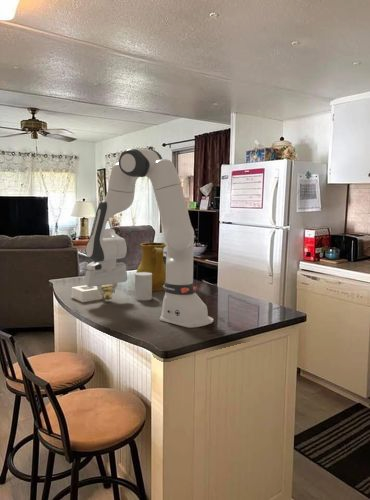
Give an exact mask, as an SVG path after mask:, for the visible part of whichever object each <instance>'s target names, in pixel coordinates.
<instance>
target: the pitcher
mask: <svg viewBox="0 0 370 500" xmlns="http://www.w3.org/2000/svg"><path fill="white" fill-rule="evenodd" d="M140 247H141V250H142V256H141V260H140V263H139V266H137V268H136V272H135V273H139V272H148V273H152V292H160V291H163V290H164V285H165V282H166V262H165V261H164V256H165V255H164V248H166V247H167V243H165V242H156V241H155V242H152V241H150V242H143V243H140Z"/></svg>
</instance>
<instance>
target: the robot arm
mask: <svg viewBox="0 0 370 500" xmlns="http://www.w3.org/2000/svg"><path fill="white" fill-rule="evenodd" d="M144 177H147V178H148V179H149V180H150V182H151V184H152V189H153V193H154V197H155V200H156V203H157V207H158V211H159V216H160V221H161V226H162V229H163V230H162V231H163V234H164V235H163V236H164V239H165V242H166V258H165V265H166V282H165V284H164V285H163V287H164V295H163V299H162V308H161V313H160V314H161V315H160V317H159V321H161V322H165V323H169V324H173V325H177V326H181V327H184V328H189V329H190V328H199V327H204V326H207V325H210V324H212V323H214V322H215V321H214V318H213V317H211V316H209V315H208V306H207V305H206V303H204V301H203V300H202V299H201V298H200V297H199V295H198V294H197V293H196V292H197V289H198V285H197V286H195V282H194V254H195V253H194V249H195V230H194V228H193V226H192V223H191V219H190V215H189V210H188V206H187V202H186V198H185V195H184V190H183V187H182V182H181V180H180V176H179V174H178V171H177V169H176V167H175V165H174V162H173V161H171V160H170V159H168V158H163V157H162V155H161V154H160V153H159V152H158V151H157V150H154V149H151V148H150V149H148V148H143V147H137V148H129V149H126V150H124V151H123V152H122V153H121V154H120V155H119V158H118V162H117V163H115V164H114V165H113V166H112V168H111V170H110V174H109V179H108V187H107V193H106V195H105V196H104V199H103V200H102V201H100V202H99V203H98V205H97V208H96V211H95V212H96V213H95V216H94V220H93V224H92V228H91V232H90V235H89V238H88V241H87V243H86V246H85V253H86V254H85V255H86V256H87V258H88V259H89V260H90V261H91V262H89V263H88V264H86V265H85V266H86V269H87V270H86V271H85V273H84V274H85V275H84V284H85V285H86V286H88V287H94V286H97V289H98V290H99V295H104V291H102V290H101V288H102V286H103V285H113V286H114V289H113V290H112V294H115V293H116V289H117V287H118V283H119V284H120V283H126V282H127V281H128V273H127V272H128V271H127V264H126V263H125V262H124V261H123V262H122V261H121V262H117V260H121V259H124V258H126V257H127V255H128V253H129V251H130V248H129V247H130V246H129V243H128V241H127V240H126V239H125V238H124V237H122V236H119V235H118V234H116V231H115V229H114V228H106V227H107V223H108V221H109V220H110V219H111V218H112V217H114V216H116V215H117V214H119V213H122V212H124V211H126V210H128V209H129V208H130V207H131V206H132V204H133V202H134V200H135V192H136V191H135V190H136V182H137V180H138V179H139V178H144Z"/></svg>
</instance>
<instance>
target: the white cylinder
mask: <svg viewBox="0 0 370 500" xmlns="http://www.w3.org/2000/svg"><path fill="white" fill-rule="evenodd" d="M152 293H153V291H152V273H148V272H139V273H136V272H135V273H134V300H136V301H150V300H153V299H152V298H153V294H152Z"/></svg>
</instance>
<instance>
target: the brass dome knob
mask: <svg viewBox="0 0 370 500" xmlns="http://www.w3.org/2000/svg"><path fill="white" fill-rule="evenodd" d="M113 289H114V286H113V285H112V284H107V285H102V288H101V290H102V291H104V295H102V299H101V300H105V301H106V300H107V301H108V300H112V299H113V293H112V290H113Z"/></svg>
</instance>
